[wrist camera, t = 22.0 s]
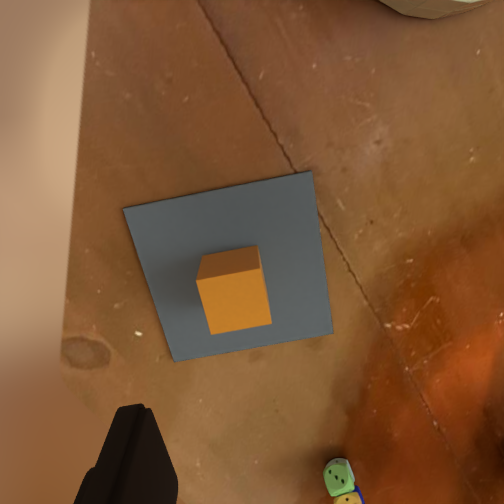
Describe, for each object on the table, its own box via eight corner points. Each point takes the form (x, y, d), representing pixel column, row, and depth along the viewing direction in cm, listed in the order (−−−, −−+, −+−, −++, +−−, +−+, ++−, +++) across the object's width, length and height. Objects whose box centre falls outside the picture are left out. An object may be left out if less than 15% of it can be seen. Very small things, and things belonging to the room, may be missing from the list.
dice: (359, 484, 44) (377, 543, 38) (338, 491, 45) (353, 550, 39) (338, 440, 42) (354, 496, 36) (316, 447, 42) (328, 504, 36)
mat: (174, 359, 37) (174, 362, 37) (123, 207, 31) (122, 208, 31) (332, 331, 36) (333, 333, 36) (311, 170, 30) (312, 170, 30)
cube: (215, 304, 34) (210, 335, 30) (202, 255, 32) (195, 280, 28) (267, 294, 34) (272, 324, 29) (257, 244, 32) (260, 268, 28)
